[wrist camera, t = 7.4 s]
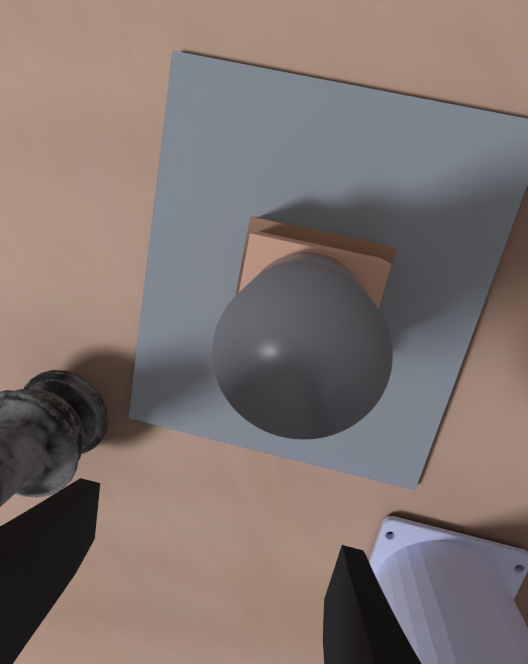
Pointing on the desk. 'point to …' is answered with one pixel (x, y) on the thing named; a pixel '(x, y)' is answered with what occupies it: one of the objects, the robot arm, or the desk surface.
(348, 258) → the tower middle
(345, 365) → the dark grey cylinder
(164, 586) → the desk surface
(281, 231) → the tower base
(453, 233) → the mat
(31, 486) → the salt shaker
